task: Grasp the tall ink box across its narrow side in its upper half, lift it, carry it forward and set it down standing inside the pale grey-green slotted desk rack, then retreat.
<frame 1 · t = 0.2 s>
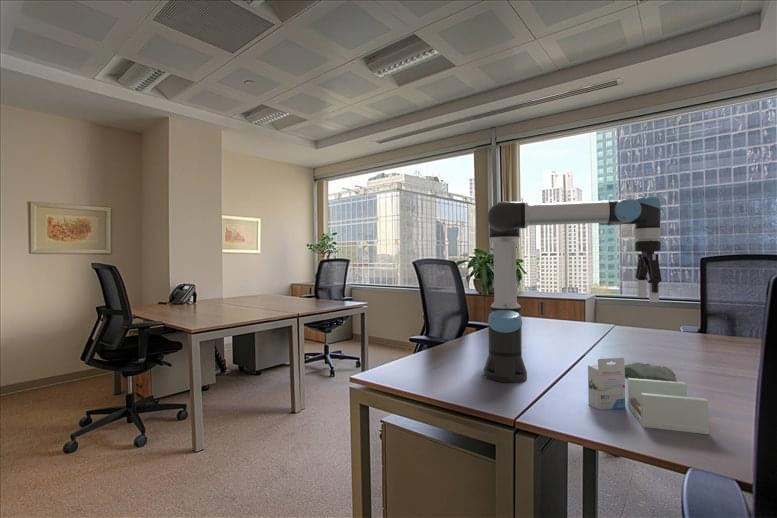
hand: (647, 299, 137), 28 cm above the table, fingers open, 13 cm apart
stone: (648, 378, 138), on the table
ink box: (606, 406, 113), on the table
rack: (664, 418, 104), on the table
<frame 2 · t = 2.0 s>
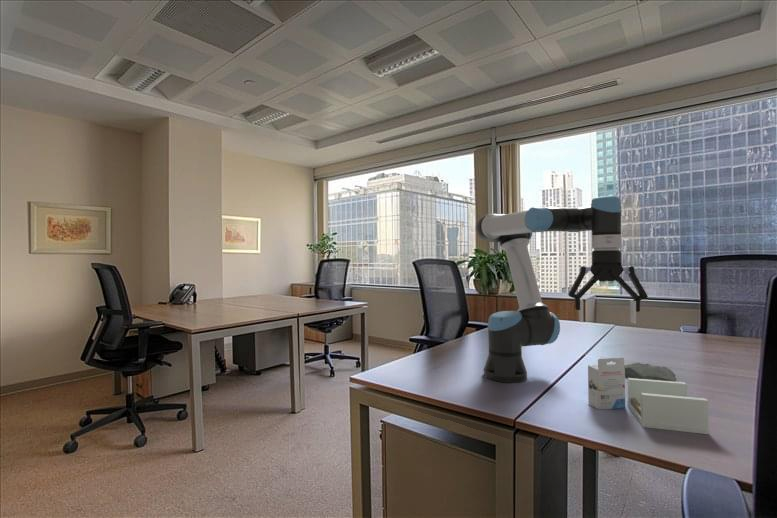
hand: (606, 322, 113), 25 cm above the table, fingers open, 13 cm apart
nothing on the table moved.
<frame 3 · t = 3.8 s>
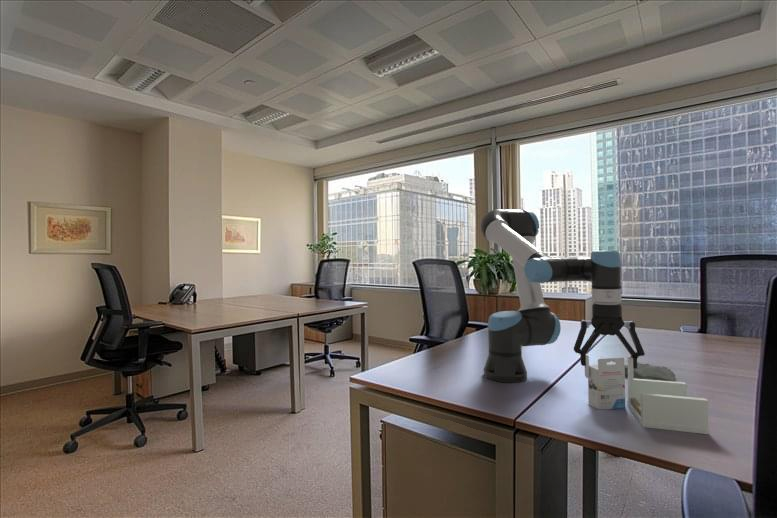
hand: (608, 378, 112), 8 cm above the table, fingers open, 11 cm apart
nothing on the table moved.
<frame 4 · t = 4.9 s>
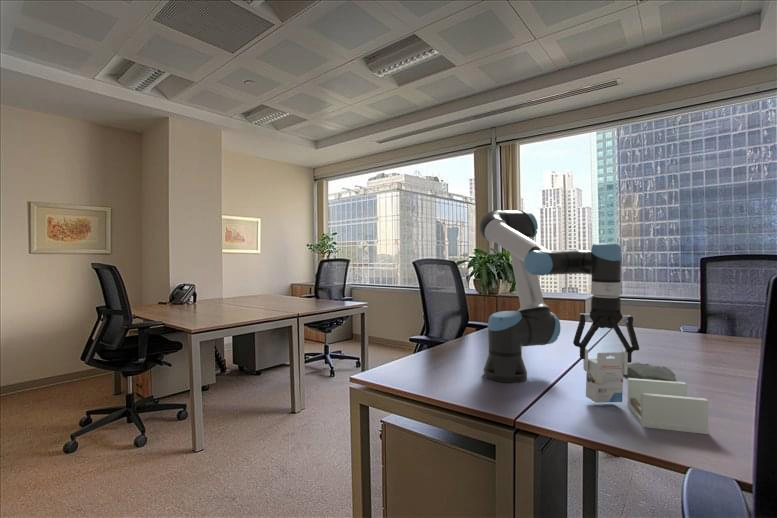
hand: (604, 371, 113), 10 cm above the table, fingers closed on ink box, 9 cm apart
ink box: (603, 399, 114), point 1 cm above the table, touching gripper
everything else where it was.
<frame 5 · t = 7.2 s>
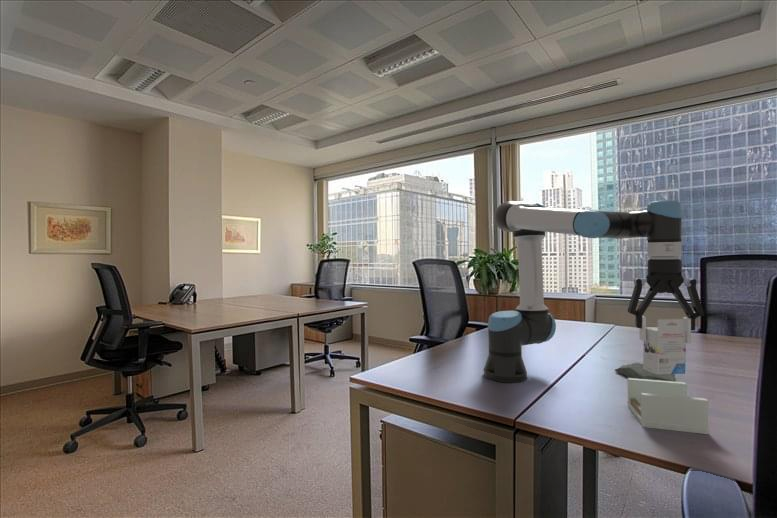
hand: (664, 341, 104), 21 cm above the table, fingers closed on ink box, 9 cm apart
ink box: (663, 372, 104), point 13 cm above the table, touching gripper
everything else where it was.
when the fingers open (11 cm above the table, at t = 9.5 s): ink box drops 1 cm, resting on rack.
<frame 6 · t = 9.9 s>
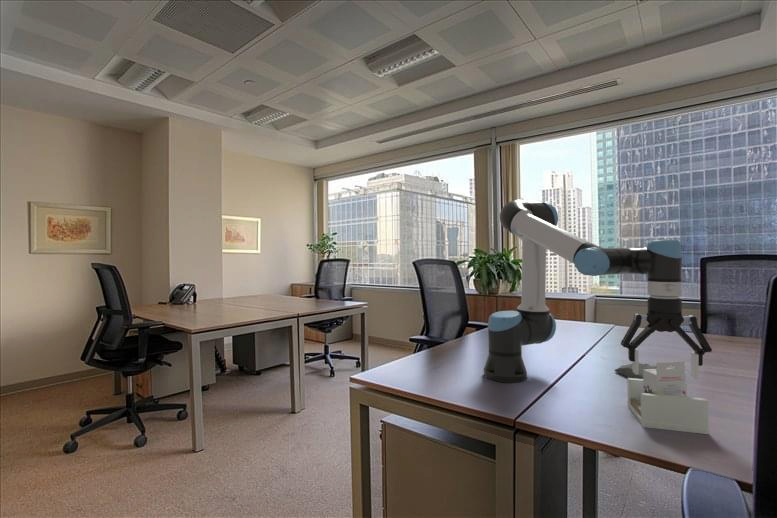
hand: (664, 375, 104), 12 cm above the table, fingers open, 13 cm apart
ink box: (664, 414, 104), point 1 cm above the table, touching rack
everything else where it was.
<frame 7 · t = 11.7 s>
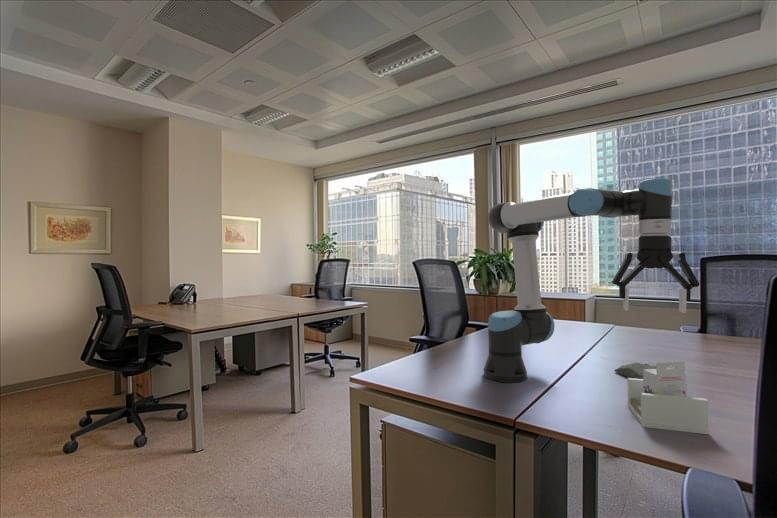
hand: (653, 311, 107), 29 cm above the table, fingers open, 13 cm apart
nothing on the table moved.
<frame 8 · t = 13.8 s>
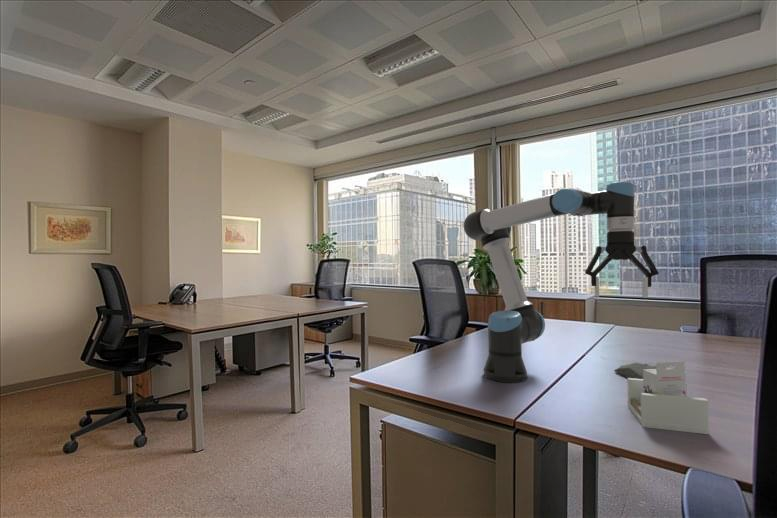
hand: (620, 297, 123), 31 cm above the table, fingers open, 13 cm apart
nothing on the table moved.
at the end: ink box inside the target area on the rack (0.1 cm from its centre), point 1.0 cm above the rack's base; ink box tilted 0°; the gripper is holding nothing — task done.
